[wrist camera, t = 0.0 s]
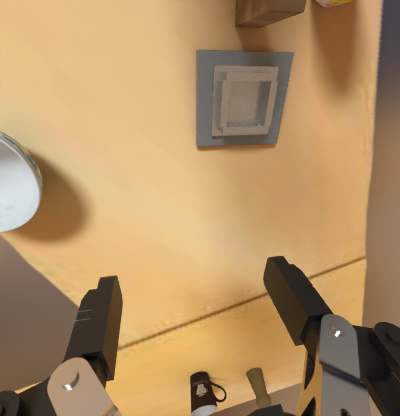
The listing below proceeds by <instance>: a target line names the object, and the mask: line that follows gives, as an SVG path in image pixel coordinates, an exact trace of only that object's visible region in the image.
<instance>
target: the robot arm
mask: <svg viewBox="0 0 400 416" xmlns="http://www.w3.org/2000/svg"><path fill="white" fill-rule="evenodd" d="M263 280H264V285H265V288H266V290H267V291H268V293H269V295H270V297H271V299H272V301H273V303H274V305H275V307H276V309H277V311H278V313H279V315H280V317H281V319H282V321H283V322H284V324H285V326H286V328H287V330H288V332H289V334H290V336H291V338H292V340H293V342H294V344H295V346H298V345H303V344H304V346H305V348H306V353H305V361H304V371H303V380H302V389H301V395H300V399H299V403H298V406H297V412H296V415H293V414H290V413H287V412H283V409H282V407H281V404H279V405H274V406H270V407H266V408H261V409H257V410H255V411H254V412H252V413H251V414H249V415H248V416H371V414H370V405H369V395H370V397H371V398H372V400H373V401H374V403H375V405H376V406H377V408H378V410H379V411H380V413H381V414H382V416H400V328H399V327H397V326H395V325H393V324H391V323H387V322H379V323H377V324H376V325H375V327H374V328H367V327H361V326H355V325H351V324H350V323H349V322H348V321H347V320H346V319H344V318H343V317H341V316H338V315H335V314H333V312H332V311H331V310H330V308H329V307H328V306H327V304H326V303H325V302H324V300H323V299H322V298H321V296H320V295H319V293H318V292H317V291H316V289H315V288H314V287H313V286H312V284H311V283H310V281H309V280H308V278H307V277H306V276H305V274H304V273H303V272H302V270H300V269H299V268H298V267H296V266H295V265H294V264H290V265H289V263H288V262H287V260H286V259H285V258H284V257H283V256H275V257H269V258H268V259H267V263H266V268H265V272H264V277H263ZM122 305H123V301H122V293H121V289H120V285H119V281H118V277H117V276H107V277H101V278H100V280H99V283H98V287H97V289H93V290H89V291H88V292H87V294H86V295H85V296H84V298H83V299H82V301H81V304H80V307H79V313H78V314H77V318H76V322H75V324H74V328H73V331H72V334H71V338H70V341H69V345H68V348H67V351H66V355H65V358H64V360H63V362H62V364H61V365H60V366H59V367H58V368H57V369H56V370H55V372H54V373H53V374H52V375H51V376H50V377H49V378H47V379H46V380H45V381H43V382H41V383H39V384H37V385H35V386H33V387H31V388H29V389H27V390H25V391H23V392H21V393H19V394H17V393H15V392H14V391H2V392H0V416H122V414H121V413H120V411H119V410H118V408H117V407H116V406H115V405H114V403H113V402H112V400H111V399H110V397H109V395H108V394H107V392H106V391H105V387H106V381H110V380H114V374H115V365H116V357H117V348H118V340H119V332H120V323H121V315H122ZM395 375H396V376H397V377H396V376H395ZM398 379H399V380H398ZM361 382H362V383H361ZM368 393H369V394H368Z"/></svg>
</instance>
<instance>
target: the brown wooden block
mask: <svg viewBox="0 0 400 416" xmlns="http://www.w3.org/2000/svg"><path fill="white" fill-rule="evenodd" d="M305 4H306V0H237V5H236V18H235V27H253V28H260V27H263V26H266V25H269V24H271V23H274V22H277V21H280V20H283V19H286V18H288V17H291V16H294V15H297V14H300V13H302V12H304V9H305Z"/></svg>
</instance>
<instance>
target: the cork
mask: <svg viewBox="0 0 400 416" xmlns="http://www.w3.org/2000/svg"><path fill="white" fill-rule="evenodd" d="M246 375H247V377H248V379H249V381H250V384H251V386H252V388H253V391H254V393H255V395H256V397H257V398H256V403H257V405H258V407H259V408H266V407H269V406H270V405H271V398H270V396H269V395H268V394H267V391H266V387H265V382H264V378H263V374H262V370H261V368H253V369H251V370H249V371H248V372H247V373H246Z"/></svg>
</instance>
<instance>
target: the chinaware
mask: <svg viewBox="0 0 400 416" xmlns="http://www.w3.org/2000/svg"><path fill="white" fill-rule="evenodd" d="M42 192H43V182H42V176H41V173H40V170H39V167H38V165H37V163H36V162H35V160H34V159H33V157H32V156H31V154H30V153H29V152H28V151H27V150H26V149H25V148H24V147H23V146H22V145H21V144H20V143H18V142H17V141H16V140H14V139H13V138H11V137H10V136H8V135H6V134H5V133H3V132H1V131H0V232H5V231H10V230H13V229H16V228H18V227H20V226H22V225H24V224H25V223H27V222H28V221H29V220H30V219H31V218H32V217H33V216H34V215H35V213H36V212H37V210H38V208H39V205H40V202H41V198H42Z"/></svg>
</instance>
